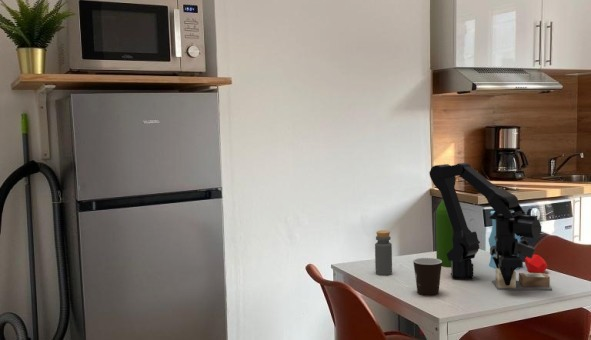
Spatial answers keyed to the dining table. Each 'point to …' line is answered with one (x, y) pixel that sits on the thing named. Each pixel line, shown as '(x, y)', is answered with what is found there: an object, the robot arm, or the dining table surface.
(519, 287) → the mat
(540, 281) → the brown block
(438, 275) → the coffee mug
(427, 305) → the dining table surface
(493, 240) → the vase
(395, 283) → the dining table surface
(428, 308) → the dining table surface
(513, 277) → the birch cube
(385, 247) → the bottle
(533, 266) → the apple
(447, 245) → the wine bottle
